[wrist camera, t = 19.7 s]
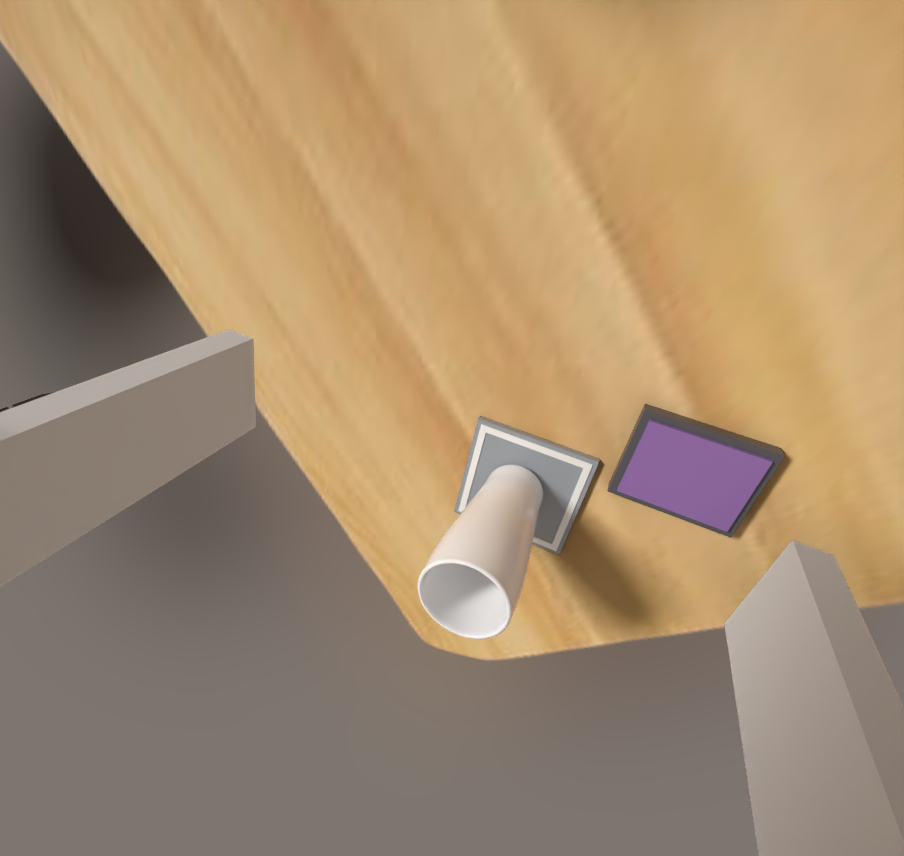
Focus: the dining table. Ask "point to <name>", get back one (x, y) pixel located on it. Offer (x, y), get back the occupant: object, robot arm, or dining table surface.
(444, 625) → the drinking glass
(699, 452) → the ink pad
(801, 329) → the dining table surface
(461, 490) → the plate
